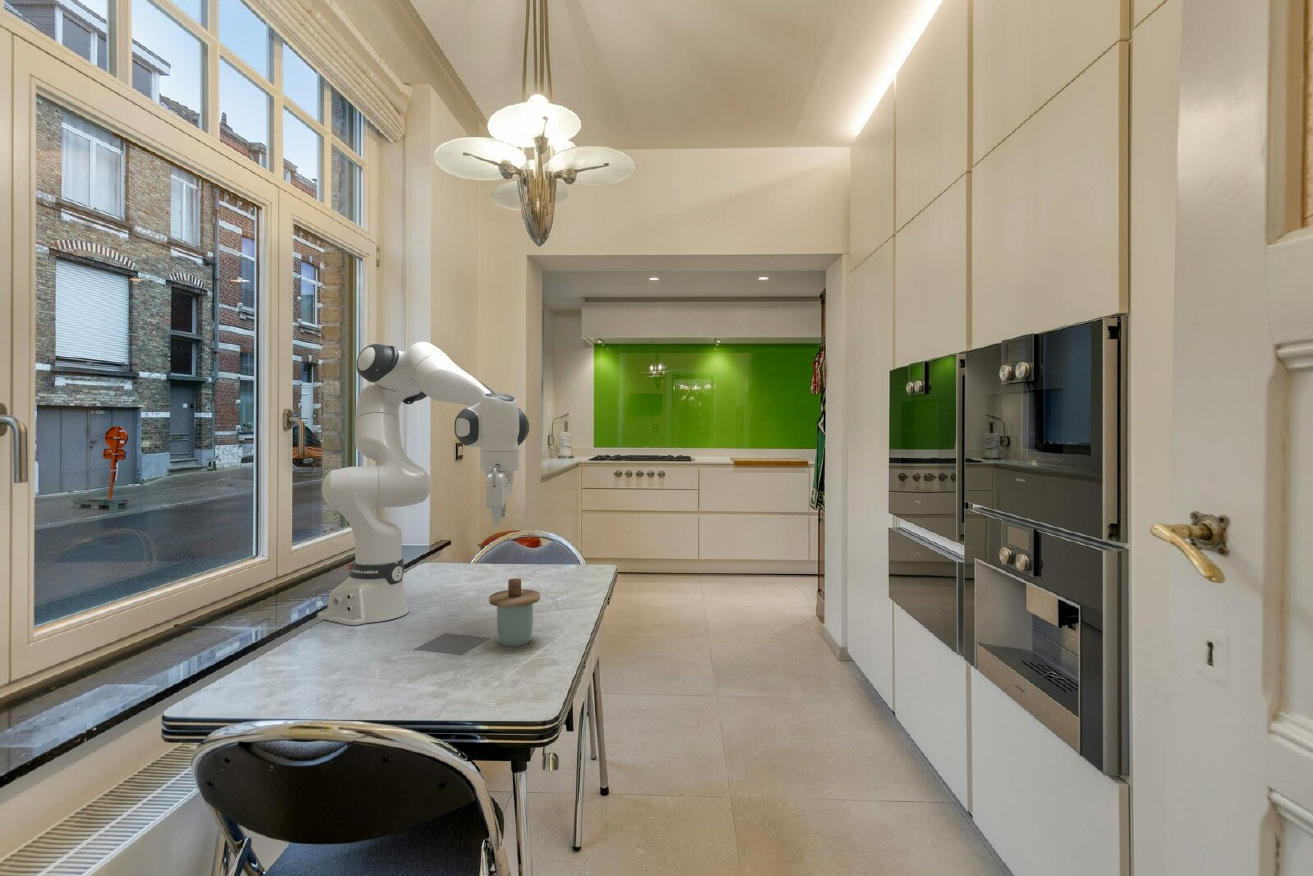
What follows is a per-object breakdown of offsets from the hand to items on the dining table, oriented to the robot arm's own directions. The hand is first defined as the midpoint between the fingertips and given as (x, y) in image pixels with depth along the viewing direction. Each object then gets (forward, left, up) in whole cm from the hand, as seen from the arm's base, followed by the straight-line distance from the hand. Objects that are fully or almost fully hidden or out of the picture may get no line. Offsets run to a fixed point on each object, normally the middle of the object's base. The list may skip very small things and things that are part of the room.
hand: (499, 521), depth 138 cm
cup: (+7, -5, -27) cm, 28 cm away
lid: (+7, -5, -17) cm, 19 cm away
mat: (-6, -10, -27) cm, 29 cm away
